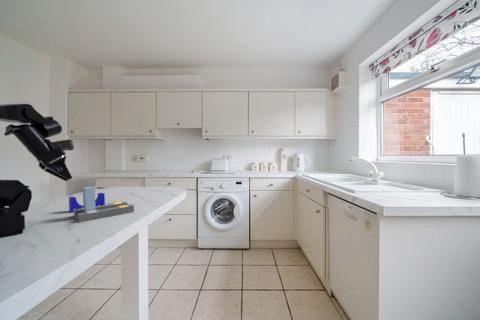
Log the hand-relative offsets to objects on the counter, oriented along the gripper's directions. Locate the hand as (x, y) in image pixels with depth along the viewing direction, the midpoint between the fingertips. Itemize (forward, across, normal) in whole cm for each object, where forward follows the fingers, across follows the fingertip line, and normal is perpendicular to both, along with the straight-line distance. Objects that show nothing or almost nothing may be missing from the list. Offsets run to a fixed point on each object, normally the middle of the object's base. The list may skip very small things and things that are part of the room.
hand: (69, 179), depth 77 cm
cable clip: (+14, +17, 0) cm, 22 cm away
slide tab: (+14, +2, +2) cm, 14 cm away
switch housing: (+18, +3, -2) cm, 18 cm away
